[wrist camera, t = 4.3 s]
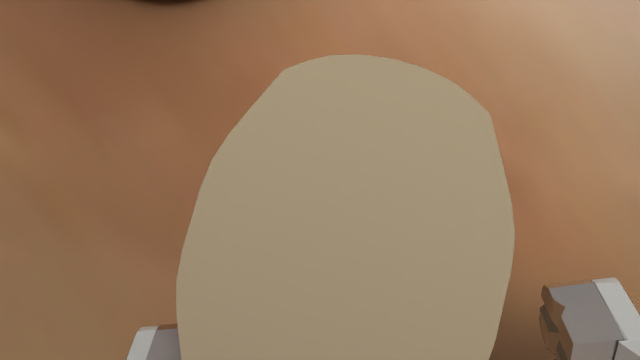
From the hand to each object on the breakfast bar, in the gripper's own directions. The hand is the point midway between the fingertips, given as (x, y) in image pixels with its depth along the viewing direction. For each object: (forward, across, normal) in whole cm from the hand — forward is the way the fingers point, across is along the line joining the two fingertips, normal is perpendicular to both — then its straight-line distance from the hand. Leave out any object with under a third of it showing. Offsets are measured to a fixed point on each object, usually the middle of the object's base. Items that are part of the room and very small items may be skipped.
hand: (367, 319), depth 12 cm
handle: (+8, 0, +6) cm, 10 cm away
